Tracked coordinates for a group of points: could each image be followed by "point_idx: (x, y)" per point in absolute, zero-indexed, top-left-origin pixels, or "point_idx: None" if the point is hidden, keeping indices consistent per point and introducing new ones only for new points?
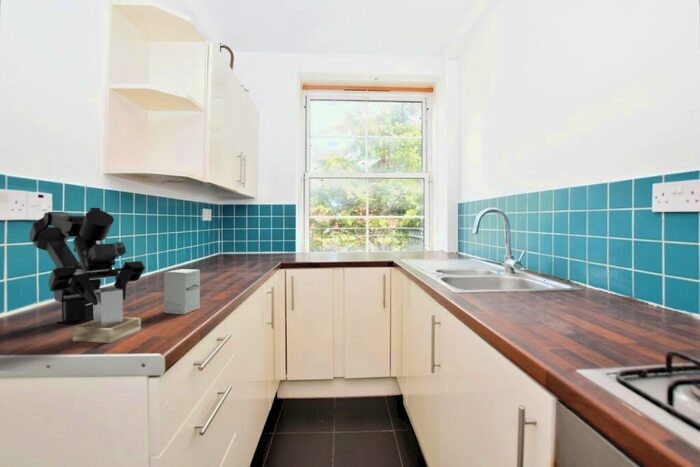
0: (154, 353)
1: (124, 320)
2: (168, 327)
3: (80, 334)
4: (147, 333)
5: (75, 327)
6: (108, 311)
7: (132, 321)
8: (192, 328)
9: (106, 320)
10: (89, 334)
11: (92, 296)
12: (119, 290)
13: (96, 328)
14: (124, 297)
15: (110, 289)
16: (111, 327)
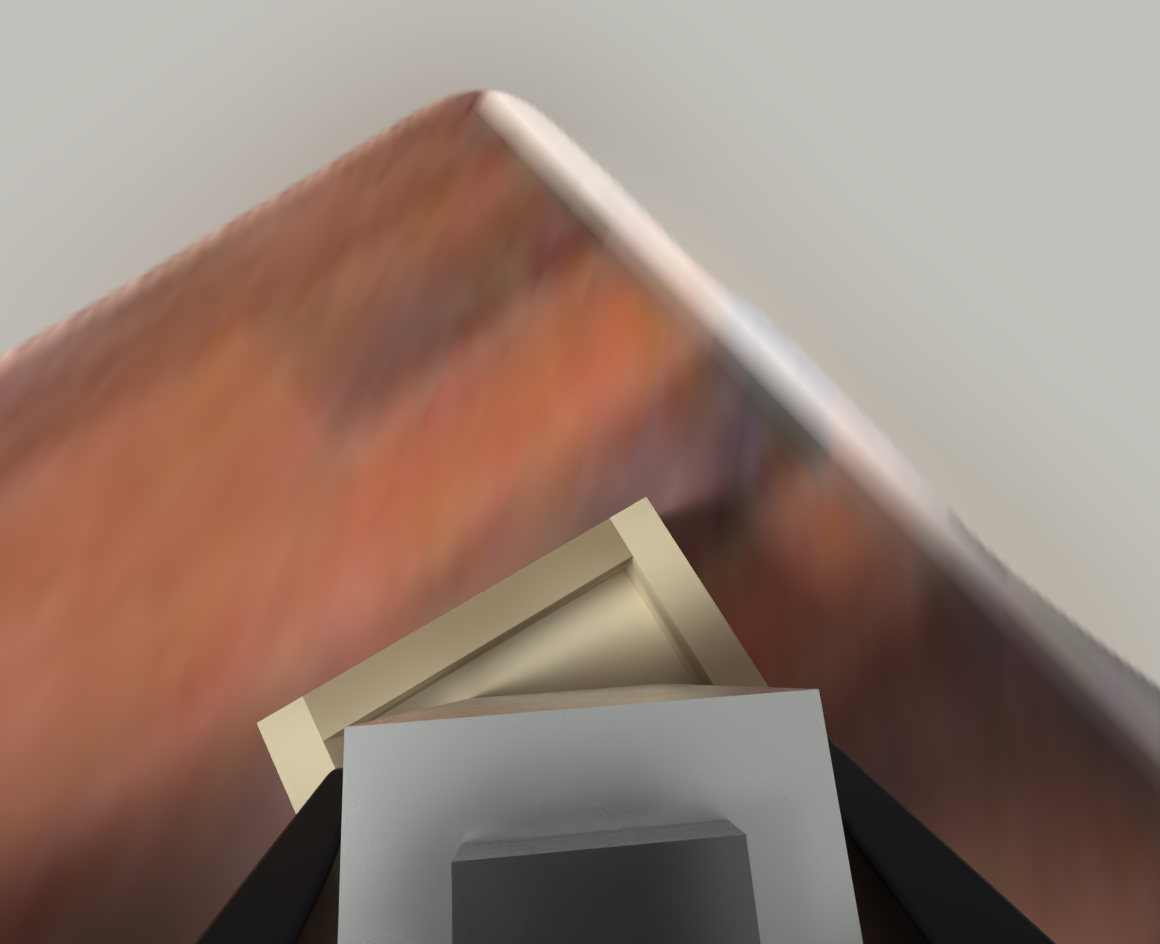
0: (506, 119)
1: None
2: (121, 576)
3: None
4: (333, 544)
5: None
6: (619, 692)
7: (381, 653)
8: (33, 380)
9: (631, 688)
10: None
11: (921, 829)
12: (419, 721)
13: (722, 652)
14: (341, 774)
15: (589, 836)
16: (576, 690)
